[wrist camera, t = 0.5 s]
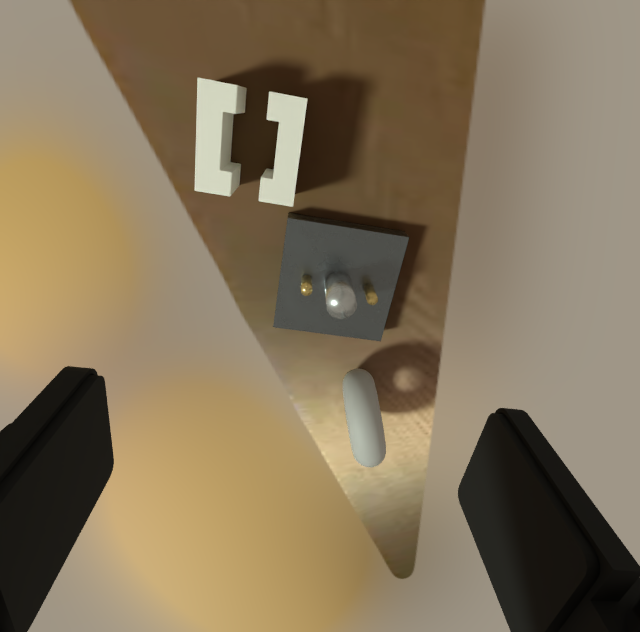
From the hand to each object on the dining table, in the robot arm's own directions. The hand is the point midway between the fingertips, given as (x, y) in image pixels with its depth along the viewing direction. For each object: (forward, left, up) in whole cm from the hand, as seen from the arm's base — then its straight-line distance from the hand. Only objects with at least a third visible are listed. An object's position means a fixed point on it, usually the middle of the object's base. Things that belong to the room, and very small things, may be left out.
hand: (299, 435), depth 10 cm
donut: (+20, +9, -30) cm, 37 cm away
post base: (+7, +4, -30) cm, 31 cm away
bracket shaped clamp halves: (-4, -5, -30) cm, 30 cm away
